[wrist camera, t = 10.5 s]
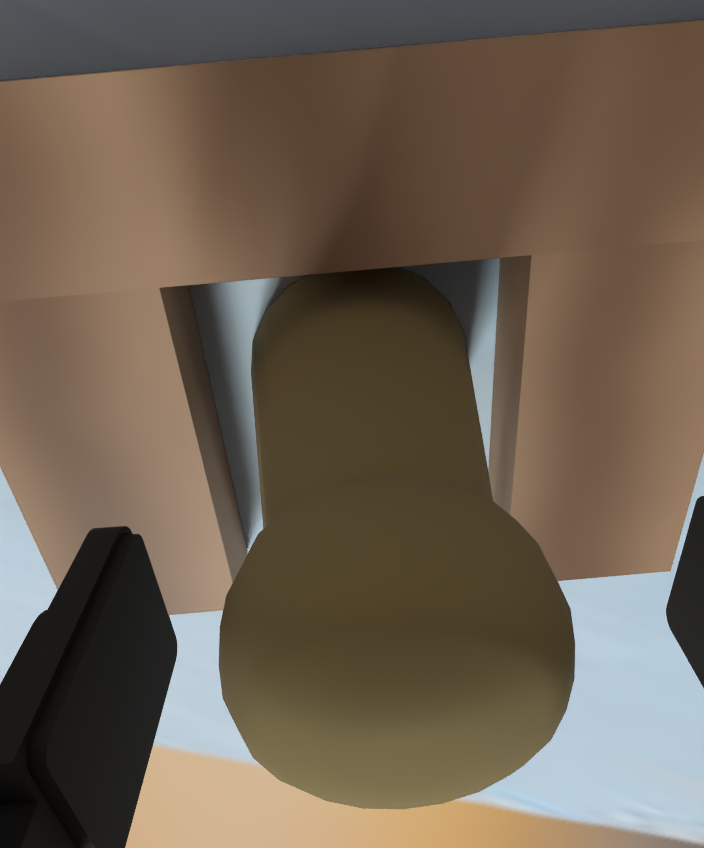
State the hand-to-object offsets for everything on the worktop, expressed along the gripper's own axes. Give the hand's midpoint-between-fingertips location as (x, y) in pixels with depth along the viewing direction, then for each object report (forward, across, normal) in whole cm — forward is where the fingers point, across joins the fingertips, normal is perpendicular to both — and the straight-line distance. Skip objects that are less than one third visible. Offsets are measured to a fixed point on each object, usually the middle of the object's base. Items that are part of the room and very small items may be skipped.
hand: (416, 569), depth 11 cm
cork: (+8, +1, 0) cm, 8 cm away
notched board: (+8, +1, -1) cm, 8 cm away
